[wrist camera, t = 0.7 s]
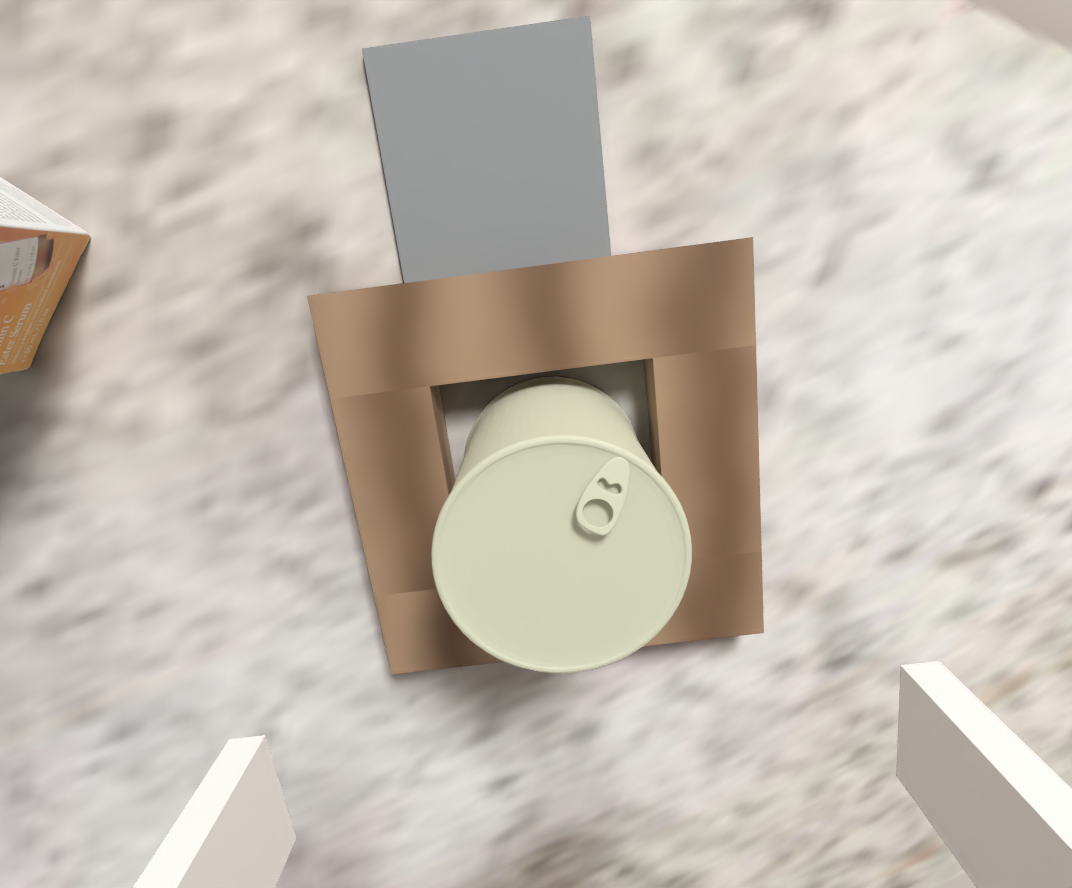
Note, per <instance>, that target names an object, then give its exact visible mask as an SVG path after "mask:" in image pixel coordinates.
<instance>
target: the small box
mask: <svg viewBox="0 0 1072 888" xmlns="http://www.w3.org/2000/svg"><path fill="white" fill-rule="evenodd" d="M89 239H90V236H89V234H88V233H87V232H85V231H84V230H82V229H81V228H79V227H78V226H76V225H74V224H73V223H71V222H70V221H68V220H67V219H65V218H64V217H62V216H60V215H59V214H57V213H56V212H54V211H53V210H51V209H50V208H48V207H46V206H45V205H43V204H42V203H40V202H39V201H37V200H36V199H34V198H32V197H31V196H29V195H28V194H26V193H25V192H23V191H21V190H20V189H18V188H17V187H15V186H14V185H12V184H10V183H9V182H7V181H6V180H4V179H2V178H1V177H0V374H5V373H11V372H16V371H22V370H27V369H29V367H30V366H31V364H32V361H33V358H34V356H35V354H36V351H37V348H38V346H39V343H40V341H41V339H42V336H43V334H44V332H45V330H46V328H47V326H48V324H49V321H50V319H51V317H52V315H53V313H54V311H55V309H56V307H57V305H58V303H59V300H60V298H61V296H62V294H63V292H64V290H65V288H66V286H67V284H68V282H69V280H70V278H71V276H72V273H73V271H74V269H75V267H76V265H77V263H78V261H79V259H80V257H81V254H82V253H83V251H84V250H85V248H86V246H87V243H88V241H89Z"/></svg>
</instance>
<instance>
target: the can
mask: <svg viewBox="0 0 1072 888" xmlns="http://www.w3.org/2000/svg"><path fill="white" fill-rule="evenodd" d="M431 556H432V570H433V577H434V581H435V585H436V589H437V591H438V594H439V597H440V599H441V601H442V603H443V605H444V607H445V609H446V611H447V613H448V614H449V616H450V617H451V619H452V620H453V622H454V623H455V624H456V625H457V627H458V628H459V629H460V630H461V631H462V633H463V634H465V635H466V636H467V637H468V638H469V639H470V640H471V641H472V642H473V643H474V644H476V645H477V646H478V647H480V648H481V649H483V650H484V651H485V652H487V653H489V654H490V655H492V656H494V657H495V658H497V659H500V660H502V661H504V662H507V663H509V664H512V665H514V666H517V667H520V668H524V669H529V670H533V671H538V672H547V673H575V672H582V671H587V670H592V669H596V668H600V667H603V666H606V665H609V664H612V663H614V662H617V661H619V660H621V659H623V658H625V657H627V656H629V655H630V654H632V653H634V652H635V651H637V650H638V649H640V648H641V647H643V646H644V645H645V644H646V643H648V642H649V641H650V640H651V639H653V638H654V637H655V636H656V635H657V634H658V633H659V632H660V631H661V629H662V628H663V627H664V626H665V625H666V624H667V622H668V621H669V620H670V618H671V617H672V615H673V614H674V612H675V611H676V609H677V607H678V606H679V604H680V602H681V600H682V597H683V595H684V592H685V590H686V587H687V583H688V579H689V576H690V570H691V562H692V543H691V535H690V530H689V526H688V522H687V519H686V516H685V513H684V511H683V508H682V506H681V504H680V502H679V500H678V498H677V496H676V495H675V493H674V492H673V490H672V489H671V487H670V486H669V485H668V483H667V482H666V481H665V480H664V478H663V477H662V476H661V475H660V474H659V473H658V472H657V470H656V469H655V467H654V466H653V464H652V463H651V461H650V459H649V458H648V456H647V455H646V453H645V451H644V450H643V448H642V447H641V445H640V443H639V442H638V439H637V436H636V433H635V430H634V428H633V426H632V424H631V422H630V420H629V418H628V417H627V415H626V414H625V412H624V411H623V410H622V408H621V407H620V406H619V405H618V404H617V403H616V402H615V401H614V400H613V399H612V398H611V397H610V396H608V395H607V394H606V393H604V392H603V391H601V390H600V389H598V388H596V387H594V386H592V385H590V384H588V383H585V382H583V381H579V380H575V379H571V378H565V377H540V378H535V379H531V380H527V381H524V382H521V383H518V384H516V385H514V386H512V387H510V388H508V389H506V390H505V391H503V392H502V393H500V394H499V395H498V396H496V397H495V398H494V399H493V400H492V401H491V402H490V403H489V404H488V405H487V406H486V407H485V408H484V409H483V410H482V412H481V413H480V415H479V416H478V418H477V419H476V421H475V423H474V425H473V427H472V429H471V431H470V434H469V437H468V440H467V445H466V451H465V458H464V460H463V463H462V466H461V468H460V471H459V474H458V476H457V479H456V481H455V484H454V486H453V488H452V491H451V493H450V494H449V496H448V498H447V500H446V501H445V503H444V505H443V507H442V509H441V511H440V514H439V517H438V520H437V523H436V526H435V530H434V534H433V540H432V552H431Z"/></svg>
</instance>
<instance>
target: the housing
mask: <svg viewBox="0 0 1072 888" xmlns="http://www.w3.org/2000/svg"><path fill="white" fill-rule="evenodd" d="M307 298H308V302H309V307H310V311H311V316H312V320H313V325H314V329H315V334H316V338H317V343H318V347H319V352H320V356H321V361H322V365H323V370H324V374H325V378H326V383H327V387H328V392H329V396H330V401H331V405H332V410H333V414H334V419H335V423H336V428H337V432H338V437H339V441H340V446H341V450H342V455H343V459H344V464H345V468H346V473H347V477H348V482H349V486H350V490H351V495H352V499H353V504H354V508H355V513H356V517H357V522H358V526H359V531H360V535H361V540H362V544H363V549H364V553H365V558H366V562H367V567H368V571H369V576H370V580H371V585H372V589H373V594H374V598H375V602H376V607H377V611H378V616H379V620H380V625H381V629H382V634H383V638H384V643H385V647H386V652H387V656H388V661H389V665H390V670H391V674H398V673H407V672H416V671H425V670H434V669H443V668H452V667H461V666H470V665H479V664H488V663H497V662H504V661H502V660H500V659H497V658H495V657H494V656H492V655H490V654H489V653H487V652H485V651H484V650H483V649H481V648H480V647H478V646H477V645H476V644H474V643H473V642H472V641H471V640H470V639H469V638H468V637H467V636H466V635H465V634H463V633H462V631H461V630H460V629H459V628H458V627H457V625H456V624H455V623H454V622H453V620H452V619H451V617H450V616H449V614H448V613H447V611H446V609H445V607H444V605H443V603H442V601H441V599H440V597H439V594H438V591H437V589H436V585H435V581H434V577H433V570H432V556H431V552H432V540H433V534H434V530H435V526H436V523H437V520H438V517H439V514H440V511H441V509H442V507H443V505H444V503H445V501H446V500H447V498H448V496H449V494H450V493H451V491H452V488H453V486H454V484H455V475H454V470H453V464H452V458H451V452H450V446H449V441H448V435H447V429H446V423H445V417H444V412H443V406H442V400H441V394H440V388H439V385H444V384H452V383H460V382H468V381H475V380H483V379H491V378H499V377H507V376H515V375H523V374H531V373H539V372H547V371H555V370H563V369H571V368H579V367H586V366H594V365H602V364H610V363H618V362H626V361H634V360H642V359H644V362H645V375H646V388H647V401H648V413H649V426H650V439H651V452H652V464H653V466H654V467H655V469H656V470H657V472H658V473H659V474H660V475H661V476H662V477H663V478H664V480H665V481H666V482H667V483H668V485H669V486H670V487H671V489H672V490H673V492H674V493H675V495H676V496H677V498H678V500H679V502H680V504H681V506H682V508H683V511H684V513H685V516H686V519H687V522H688V526H689V530H690V535H691V543H692V562H691V570H690V576H689V579H688V583H687V587H686V590H685V592H684V595H683V597H682V600H681V602H680V604H679V606H678V607H677V609H676V611H675V612H674V614H673V615H672V617H671V618H670V620H669V621H668V622H667V624H666V625H665V626H664V627H663V628H662V629H661V631H660V632H659V633H658V634H657V635H656V636H655V637H654V638H653V639H651V640H650V641H649V642H648V643H646V644H645V645H644V646H650V645H659V644H668V643H677V642H686V641H695V640H704V639H713V638H722V637H731V636H740V635H749V634H758V633H764V625H763V588H762V551H761V515H760V478H759V441H758V405H757V368H756V332H755V295H754V258H753V237H751V238H744V239H736V240H729V241H721V242H713V243H706V244H698V245H691V246H683V247H675V248H668V249H660V250H653V251H645V252H637V253H630V254H622V255H615V256H607V257H600V258H592V259H584V260H577V261H569V262H562V263H554V264H546V265H539V266H531V267H524V268H516V269H508V270H501V271H493V272H486V273H478V274H470V275H463V276H455V277H448V278H440V279H433V280H425V281H417V282H410V283H402V284H395V285H387V286H379V287H372V288H364V289H357V290H349V291H341V292H334V293H326V294H319V295H311V296H307Z"/></svg>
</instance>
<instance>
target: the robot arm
mask: <svg viewBox="0 0 1072 888" xmlns="http://www.w3.org/2000/svg"><path fill="white" fill-rule="evenodd" d="M896 776H897V777H898V779H899V780H900V782H901V783H902V784H903V786H904V787H905V788H906V790H907V791H908V793H909V794H910V795H911V797H912V798H913V800H914V801H915V802H916V804H917V805H918V807H919V808H920V809H921V811H922V812H923V814H924V815H925V816H926V818H927V819H928V821H929V822H930V823H931V825H932V826H933V828H934V829H935V830H936V832H937V833H938V835H939V836H940V837H941V839H942V840H943V841H944V843H945V844H946V846H947V847H948V848H949V850H950V851H951V853H952V854H953V855H954V857H955V858H956V860H957V861H958V862H959V864H960V865H961V867H962V868H963V869H964V871H965V872H966V874H967V875H968V876H969V878H970V879H971V880H972V882H973V883H974V885H975V886H976V887H977V888H1072V789H1071V788H1070V787H1069V786H1068V785H1067V784H1066V783H1065V782H1064V781H1063V780H1062V779H1061V778H1060V777H1059V776H1058V775H1057V774H1056V773H1055V772H1054V771H1053V770H1052V769H1050V768H1049V767H1048V766H1047V765H1046V764H1045V763H1044V762H1043V761H1042V760H1041V759H1040V758H1039V757H1038V756H1037V755H1036V754H1035V753H1034V752H1033V751H1032V750H1031V749H1030V748H1029V747H1028V746H1027V745H1026V744H1025V743H1024V742H1022V741H1021V740H1020V739H1019V738H1018V737H1017V736H1016V735H1015V734H1014V733H1013V732H1012V731H1011V730H1010V729H1009V728H1008V727H1007V726H1006V725H1005V724H1004V723H1003V722H1002V721H1001V720H1000V719H999V718H998V717H997V716H996V715H994V714H993V713H992V712H991V711H990V710H989V709H988V708H987V707H986V706H985V705H984V704H983V703H982V702H981V701H980V700H979V699H978V698H977V697H976V696H975V695H974V694H973V693H972V692H971V691H970V690H969V689H968V688H966V687H965V686H964V685H963V684H962V683H961V682H960V681H959V680H958V679H957V678H956V677H955V676H954V675H953V674H952V673H951V672H950V671H949V670H948V669H947V668H946V667H945V666H944V665H943V664H942V663H941V662H940V661H935V662H926V663H916V664H907V665H901V667H900V692H899V716H898V740H897V765H896ZM295 840H296V835H295V832H294V829H293V825H292V822H291V819H290V815H289V812H288V809H287V805H286V802H285V799H284V796H283V792H282V789H281V786H280V782H279V779H278V776H277V772H276V769H275V766H274V762H273V759H272V756H271V752H270V749H269V746H268V742H267V739H266V736H265V735H263V736H254V737H245V738H236V739H229V741H228V742H227V744H226V745H225V747H224V749H223V750H222V752H221V753H220V755H219V756H218V758H217V759H216V761H215V762H214V764H213V765H212V767H211V768H210V770H209V772H208V773H207V775H206V776H205V778H204V779H203V781H202V782H201V784H200V785H199V787H198V788H197V790H196V792H195V793H194V795H193V796H192V798H191V799H190V801H189V802H188V804H187V805H186V807H185V808H184V810H183V811H182V813H181V815H180V816H179V818H178V819H177V821H176V822H175V824H174V825H173V827H172V828H171V830H170V831H169V833H168V835H167V836H166V838H165V839H164V841H163V842H162V844H161V845H160V847H159V848H158V850H157V851H156V853H155V854H154V856H153V858H152V859H151V861H150V862H149V864H148V865H147V867H146V868H145V870H144V871H143V873H142V874H141V876H140V877H139V879H138V881H137V882H136V884H135V885H134V887H133V888H275V887H276V885H277V883H278V880H279V878H280V875H281V873H282V871H283V868H284V866H285V864H286V861H287V859H288V856H289V854H290V852H291V849H292V847H293V845H294V842H295Z"/></svg>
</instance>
